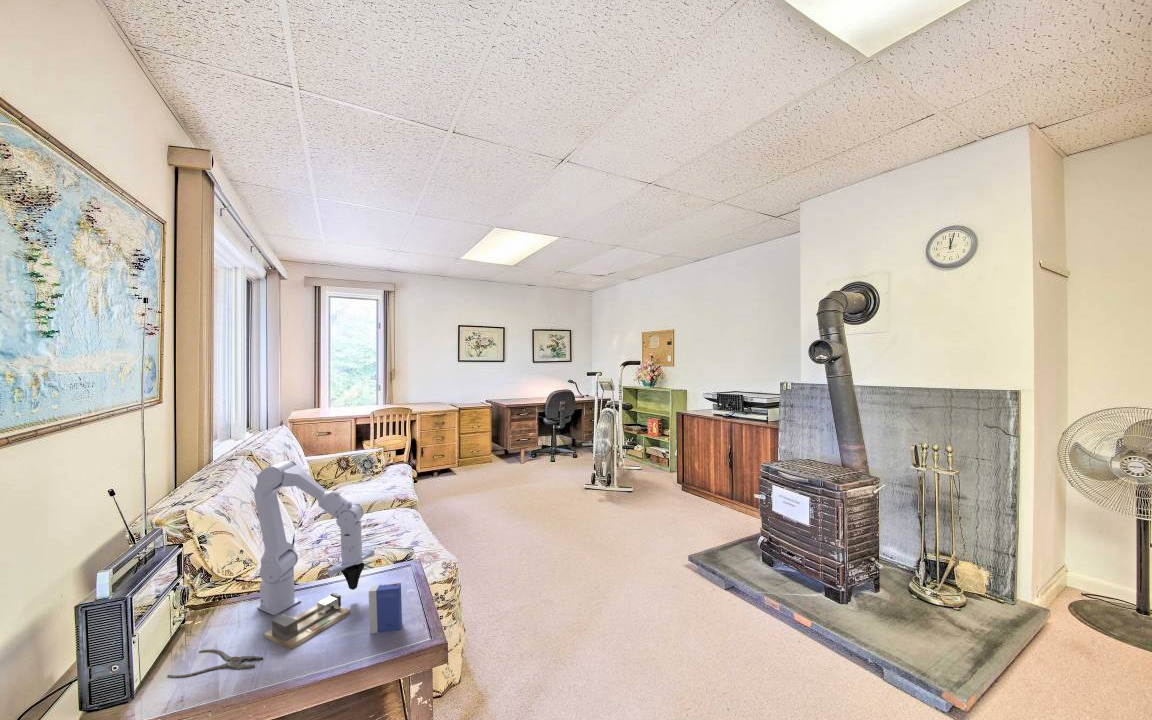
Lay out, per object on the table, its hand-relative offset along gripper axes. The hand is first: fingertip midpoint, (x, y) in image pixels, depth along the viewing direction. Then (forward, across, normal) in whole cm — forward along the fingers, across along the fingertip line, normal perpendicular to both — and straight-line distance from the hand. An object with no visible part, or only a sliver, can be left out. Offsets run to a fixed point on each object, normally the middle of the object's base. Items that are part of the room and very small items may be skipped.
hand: (353, 588), depth 132 cm
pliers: (+4, -32, +6) cm, 32 cm away
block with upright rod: (+2, -8, -1) cm, 8 cm away
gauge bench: (+4, -14, 0) cm, 14 cm away
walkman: (+4, -6, -22) cm, 23 cm away
